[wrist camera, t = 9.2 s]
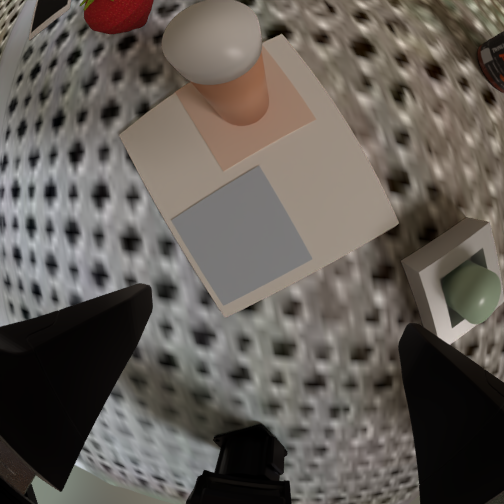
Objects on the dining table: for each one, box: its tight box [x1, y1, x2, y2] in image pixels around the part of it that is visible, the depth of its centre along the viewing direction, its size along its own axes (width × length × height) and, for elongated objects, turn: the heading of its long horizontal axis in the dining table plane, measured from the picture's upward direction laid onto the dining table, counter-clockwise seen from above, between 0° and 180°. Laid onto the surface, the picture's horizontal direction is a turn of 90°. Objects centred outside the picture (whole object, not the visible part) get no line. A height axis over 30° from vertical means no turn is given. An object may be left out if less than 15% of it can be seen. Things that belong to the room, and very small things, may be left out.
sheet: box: [119, 34, 399, 318], centre depth 20 cm, size 16×18×1 cm
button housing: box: [401, 217, 504, 345], centre depth 19 cm, size 8×8×4 cm
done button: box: [442, 260, 501, 324], centre depth 17 cm, size 4×4×4 cm
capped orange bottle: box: [162, 0, 269, 126], centre depth 14 cm, size 4×4×10 cm
